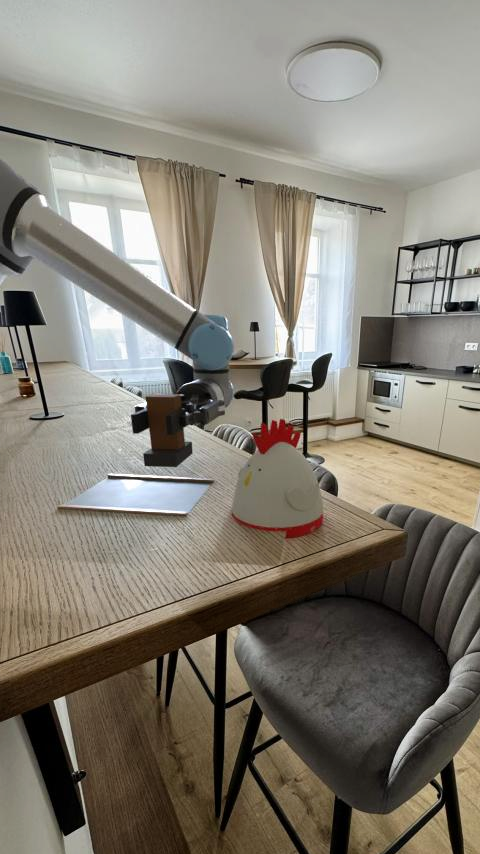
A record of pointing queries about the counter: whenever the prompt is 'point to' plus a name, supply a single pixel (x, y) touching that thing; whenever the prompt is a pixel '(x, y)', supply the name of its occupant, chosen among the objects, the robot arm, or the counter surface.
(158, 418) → the eraser
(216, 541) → the counter surface
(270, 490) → the kitchen timer
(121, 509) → the chalkboard
